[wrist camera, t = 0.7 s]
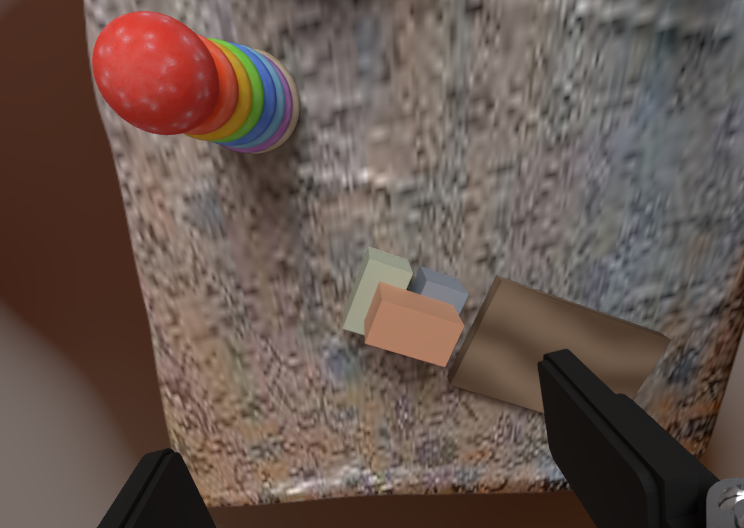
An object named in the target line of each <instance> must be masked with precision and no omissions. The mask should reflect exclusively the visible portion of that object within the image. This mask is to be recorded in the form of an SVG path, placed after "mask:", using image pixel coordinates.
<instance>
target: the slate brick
mask: <svg viewBox="0 0 744 528" xmlns="http://www.w3.org/2000/svg"><path fill="white" fill-rule="evenodd" d="M410 291H411V292H414V293H417V294H420V295H423V296H426V297H430V298H433V299H436V300H439V301H442V302H445V303H448V304H452V305H453V306H454V307H455V309H456V311H457V313H458V315H459V314H460V312H461V310H462V308H463V306H464V303H465V301H466V299H467V297H468V295H469V294H468V293H467V291H466V290H465V288H464V287H463V285H462V284H461V282H460V281H459V279H456V278H454V277H451V276H448V275H445V274H442V273H439V272H436V271H433V270H430V269H427V268H425V267H422V266H420V269H419V271H418V274H417V276H416V278H415V281H414V283H413V285H412V288H411V290H410Z"/></svg>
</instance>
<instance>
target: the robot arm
mask: <svg viewBox="0 0 744 528" xmlns="http://www.w3.org/2000/svg"><path fill="white" fill-rule="evenodd" d="M537 366H538V374H539V381H540V388H541V395H542V402H543V409H544V416H545V423H546V430H547V436H548V443H549V449H550V452H551V454H552V457H553V459H554V461H555V463H556V464H557V466H558V467H559V469H560V470H561V472H562V474H563V475H564V477H565V478H566V480H567V481H568V483H569V484H570V486H571V488H572V489H573V491H574V492H575V494H576V495H577V497H578V498H579V500H580V501H581V503H582V505H583V506H584V508H585V509H586V511H587V513H588V514H589V516H590V517H591V519H592V520H593V522H594V523H595V525H596V526H597V528H744V478H728V479H725V480H722V481H720V480H719V479H718V478H717V477H716V476H714V474H712V473H711V472H710V471H709V470H708V469H707V468H706V467H705V466H704V465H703V464H701V463H700V462H699V461H698V460H697V459H696V458H695V457H694V456H693V455H692V454H691V453H690V452H688V451H687V450H686V449H685V448H684V447H683V446H682V445H681V444H680V443H679V442H678V441H676V440H675V439H674V438H673V437H672V436H671V435H670V434H669V433H668V432H667V431H666V430H664V429H663V428H662V427H661V426H660V425H659V424H658V423H657V422H656V421H655V420H654V419H653V418H651V417H650V416H649V415H648V414H647V413H646V412H645V411H644V410H643V409H642V408H641V407H639V406H638V405H637V404H636V403H635V402H634V401H633V400H632V399H631V398H629V397H628V396H627V395H625V394H622V393H619V394H615V393H614V392H613V391H612V390H611V389H610V388H609V387H608V386H607V385H606V384H605V383H604V382H603V381H601V380H600V379H599V378H598V377H597V376H596V375H595V374H594V373H593V372H592V371H591V370H590V369H589V368H588V367H587V366H586V365H585V364H584V363H583V362H582V361H580V360H579V359H578V358H577V357H576V356H575V355H574V354H573V353H572V352H571V351H570V350H568V349H562V350H558V351H554V352H550V353H546V354H544V355H543V361H539V362H538V364H537ZM97 528H216V526H215V524H214V522H213V520H212V518H211V516H210V514H209V511H208V510H207V507H206V505H205V503H204V501H203V499H202V497H201V495H200V493H199V491H198V489H197V487H196V485H195V483H194V481H193V478H192V476H191V474H190V472H189V470H188V468H187V466H186V464H185V462H184V460H183V458H182V456H181V455H180V453H178V452H174V451H173V450H172V449H169V448H167V449H163V450H159V451H155V452H151V453H147V454H146V455H144V456H143V457H142V459H141V460H140V462H139V463H138V465H137V466H136V468H135V469H134V471H133V473H132V474H131V476H130V477H129V479H128V480H127V482H126V483H125V485H124V487H123V488H122V490H121V492H120V493H119V494H118V496H117V498H116V499H115V501H114V502H113V504H112V505H111V507H110V508H109V510H108V511H107V513H106V515H105V516H104V518H103V519H102V521H101V522H100V524H99V525H98V527H97Z"/></svg>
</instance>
